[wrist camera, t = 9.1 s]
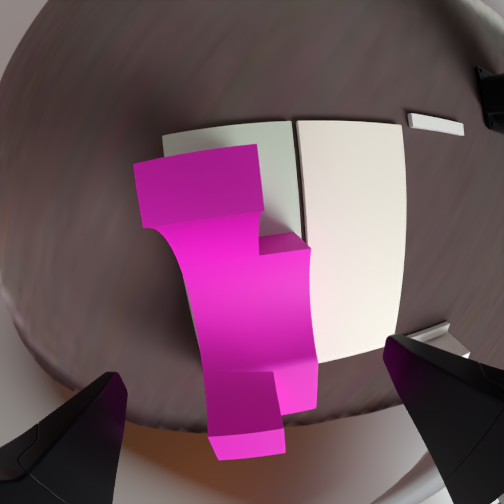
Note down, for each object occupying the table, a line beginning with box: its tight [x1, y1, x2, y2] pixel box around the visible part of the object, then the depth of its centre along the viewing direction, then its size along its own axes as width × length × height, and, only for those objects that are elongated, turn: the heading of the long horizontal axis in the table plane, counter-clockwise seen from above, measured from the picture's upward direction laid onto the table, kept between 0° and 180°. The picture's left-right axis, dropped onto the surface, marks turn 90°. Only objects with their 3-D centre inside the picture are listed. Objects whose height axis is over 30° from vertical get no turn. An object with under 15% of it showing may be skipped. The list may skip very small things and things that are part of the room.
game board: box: [162, 113, 464, 363], centre depth 17 cm, size 22×19×1 cm
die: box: [423, 332, 470, 358], centre depth 20 cm, size 4×4×4 cm
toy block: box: [133, 144, 318, 460], centre depth 13 cm, size 15×6×8 cm, turn 7°
